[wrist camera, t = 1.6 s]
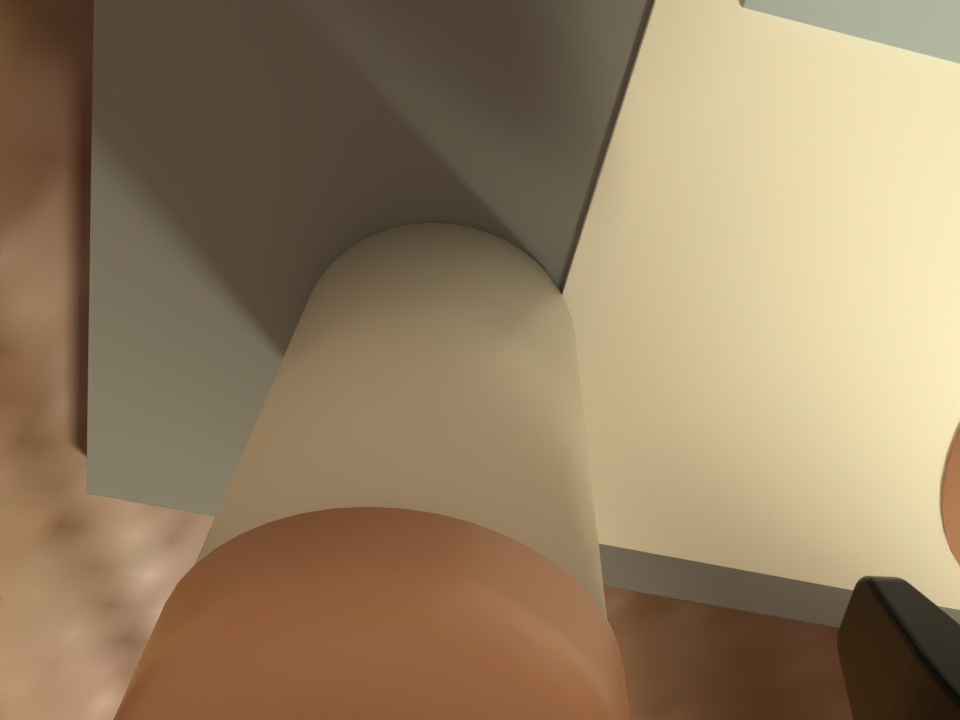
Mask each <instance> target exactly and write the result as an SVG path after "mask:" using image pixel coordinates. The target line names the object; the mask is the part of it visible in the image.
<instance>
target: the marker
mask: <svg viewBox="0 0 960 720" xmlns="http://www.w3.org/2000/svg"><path fill="white" fill-rule="evenodd" d="M114 720H631V717H630V710H629V702H628V694H627V686H626V678H625V670H624V665H623V660H622V656H621V651H620V647H619V645H618V642H617V640H616V638H615V635H614V633H613V630H612V628H611V626H610V624H609V623H608V621H607V613H606V605H605V596H604V587H603V578H602V569H601V560H600V551H599V542H598V534H597V525H596V516H595V507H594V498H593V489H592V480H591V472H590V463H589V454H588V445H587V436H586V427H585V418H584V409H583V401H582V392H581V383H580V374H579V365H578V356H577V347H576V338H575V331H574V327H573V322H572V317H571V315H570V312H569V309H568V306H567V304H566V301H565V300H564V298H563V296H562V294H561V292H560V290H559V288H558V287H557V286H556V284H555V283H554V281H553V280H552V279H551V277H550V276H549V275H548V273H547V272H546V271H545V270H544V269H543V268H542V267H541V266H540V265H539V264H538V263H537V262H536V261H535V260H533V259H532V258H531V257H530V256H528V255H527V254H526V253H525V252H523V251H522V250H521V249H519V248H517V247H516V246H514V245H512V244H511V243H509V242H507V241H506V240H504V239H501V238H499V237H497V236H495V235H492V234H490V233H488V232H485V231H481V230H478V229H475V228H471V227H467V226H461V225H455V224H449V223H419V224H409V225H404V226H399V227H395V228H391V229H388V230H385V231H382V232H379V233H376V234H374V235H372V236H370V237H368V238H366V239H364V240H362V241H360V242H358V243H356V244H355V245H353V246H352V247H351V248H349V249H348V250H346V251H345V252H343V253H342V254H341V255H340V256H339V257H338V258H337V259H336V260H335V261H334V262H332V263H331V264H330V266H329V267H328V268H327V269H326V271H325V272H324V273H323V274H322V275H321V277H320V278H319V280H318V282H317V283H316V285H315V287H314V288H313V290H312V292H311V295H310V297H309V299H308V302H307V304H306V306H305V309H304V311H303V313H302V316H301V318H300V320H299V323H298V325H297V327H296V330H295V332H294V334H293V337H292V339H291V341H290V344H289V346H288V348H287V351H286V353H285V355H284V358H283V360H282V362H281V365H280V367H279V369H278V372H277V374H276V376H275V379H274V381H273V383H272V386H271V388H270V390H269V393H268V395H267V397H266V400H265V402H264V404H263V407H262V409H261V411H260V414H259V416H258V418H257V421H256V423H255V425H254V428H253V430H252V433H251V435H250V437H249V440H248V442H247V444H246V447H245V449H244V451H243V454H242V456H241V458H240V461H239V463H238V465H237V468H236V470H235V472H234V475H233V477H232V479H231V482H230V484H229V486H228V489H227V491H226V493H225V496H224V498H223V500H222V503H221V505H220V507H219V510H218V512H217V514H216V517H215V519H214V521H213V524H212V526H211V528H210V531H209V533H208V535H207V538H206V540H205V542H204V545H203V547H202V549H201V552H200V554H199V556H198V559H197V561H196V563H195V565H194V566H193V567H192V568H191V569H190V571H189V572H188V573H187V574H186V575H185V576H184V577H183V578H182V579H181V580H180V582H179V583H178V584H177V585H176V587H175V589H174V590H173V592H172V593H171V595H170V597H169V598H168V600H167V601H166V603H165V605H164V607H163V610H162V612H161V614H160V616H159V619H158V621H157V623H156V625H155V628H154V630H153V632H152V634H151V637H150V639H149V641H148V643H147V646H146V648H145V650H144V652H143V655H142V657H141V659H140V661H139V664H138V666H137V668H136V670H135V673H134V675H133V677H132V679H131V682H130V684H129V686H128V688H127V691H126V693H125V695H124V697H123V700H122V702H121V704H120V706H119V709H118V711H117V713H116V715H115V718H114Z"/></svg>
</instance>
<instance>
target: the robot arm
mask: <svg viewBox="0 0 960 720" xmlns="http://www.w3.org/2000/svg"><path fill="white" fill-rule="evenodd" d="M837 646H838V654H839V659H840V663H841V668H842V672H843V677H844V681H845V686H846V690H847V694H848V699H849V703H850V708H851V712H852V717H853V720H960V624H959V623H958V622H956V621H955V620H954V619H953V618H952V617H950V616H949V615H948V614H947V613H945V612H944V611H943V610H942V609H940V608H939V607H938V606H937V605H936V604H934V603H933V602H932V601H931V600H929V599H928V598H927V597H926V596H925V595H923V594H922V593H921V592H920V591H918V590H917V589H916V588H915V587H914V586H912V585H911V584H910V583H908V582H907V581H905V580H904V579H902V578H898V577H887V576H864V577H862V578H860V579H859V580H858V581H857V583H856V585H855V587H854V590H853V592H852V595H851V598H850V600H849V603H848V606H847V609H846V611H845V614H844V617H843V619H842V622H841V625H840V628H839V631H838V638H837Z"/></svg>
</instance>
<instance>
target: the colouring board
mask: <svg viewBox="0 0 960 720" xmlns="http://www.w3.org/2000/svg"><path fill="white" fill-rule="evenodd" d="M419 223H449V224H455V225H461V226H467V227H471V228H475V229H478V230H481V231H485V232H488V233H490V234H492V235H495V236H497V237H499V238H501V239H504V240H506V241H507V242H509V243H511V244H512V245H514V246H516V247H517V248H519V249H521V250H522V251H523V252H525V253H526V254H527V255H528V256H530V257H531V258H532V259H533V260H535V261H536V262H537V263H538V264H539V265H540V266H541V267H542V268H543V269H544V270H545V271H546V272H547V273H548V275H549V276H550V277H551V279H552V280H553V281H554V283H555V284H556V286H557V287H558V288H559V290H560V292H561V294H562V296H563V298H564V300H565V301H566V304H567V306H568V309H569V312H570V315H571V317H572V322H573V327H574V331H575V338H576V347H577V356H578V365H579V374H580V383H581V392H582V401H583V409H584V418H585V427H586V436H587V445H588V454H589V463H590V472H591V480H592V489H593V498H594V507H595V516H596V525H597V534H598V542H599V551H600V560H601V569H602V578H603V586H608V587H613V588H619V589H625V590H630V591H636V592H641V593H647V594H653V595H658V596H664V597H669V598H675V599H681V600H686V601H692V602H697V603H703V604H709V605H714V606H720V607H725V608H731V609H736V610H742V611H748V612H753V613H759V614H764V615H770V616H776V617H781V618H787V619H792V620H798V621H804V622H809V623H815V624H820V625H826V626H831V627H837V628H840V625H841V622H842V619H843V617H844V614H845V611H846V609H847V606H848V603H849V600H850V598H851V595H852V592H853V590H854V587H855V585H856V583H857V581H858V580H859V579H860V578H862V577H864V576H887V577H898V578H902V579H904V580H905V581H907V582H908V583H910V584H911V585H912V586H914V587H915V588H916V589H917V590H918V591H920V592H921V593H922V594H923V595H925V596H926V597H927V598H928V599H929V600H931V601H932V602H933V603H934V604H936V605H937V606H938V607H939V608H940V609H942V610H943V611H944V612H945V613H947V614H948V615H949V616H950V617H952V618H953V619H954V620H955V621H956V622H958V623H959V624H960V0H94V15H93V82H92V148H91V214H90V280H89V347H88V413H87V479H86V493H88V494H94V495H99V496H105V497H110V498H116V499H122V500H127V501H133V502H138V503H144V504H150V505H155V506H161V507H166V508H172V509H178V510H183V511H189V512H194V513H200V514H205V515H211V516H216V514H217V512H218V510H219V507H220V505H221V503H222V500H223V498H224V496H225V493H226V491H227V489H228V486H229V484H230V482H231V479H232V477H233V475H234V472H235V470H236V468H237V465H238V463H239V461H240V458H241V456H242V454H243V451H244V449H245V447H246V444H247V442H248V440H249V437H250V435H251V433H252V430H253V428H254V425H255V423H256V421H257V418H258V416H259V414H260V411H261V409H262V407H263V404H264V402H265V400H266V397H267V395H268V393H269V390H270V388H271V386H272V383H273V381H274V379H275V376H276V374H277V372H278V369H279V367H280V365H281V362H282V360H283V358H284V355H285V353H286V351H287V348H288V346H289V344H290V341H291V339H292V337H293V334H294V332H295V330H296V327H297V325H298V323H299V320H300V318H301V316H302V313H303V311H304V309H305V306H306V304H307V302H308V299H309V297H310V295H311V292H312V290H313V288H314V287H315V285H316V283H317V282H318V280H319V278H320V277H321V275H322V274H323V273H324V272H325V271H326V269H327V268H328V267H329V266H330V264H331V263H332V262H334V261H335V260H336V259H337V258H338V257H339V256H340V255H341V254H342V253H343V252H345V251H346V250H348V249H349V248H351V247H352V246H353V245H355V244H356V243H358V242H360V241H362V240H364V239H366V238H368V237H370V236H372V235H374V234H376V233H379V232H382V231H385V230H388V229H391V228H395V227H399V226H404V225H409V224H419Z"/></svg>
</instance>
